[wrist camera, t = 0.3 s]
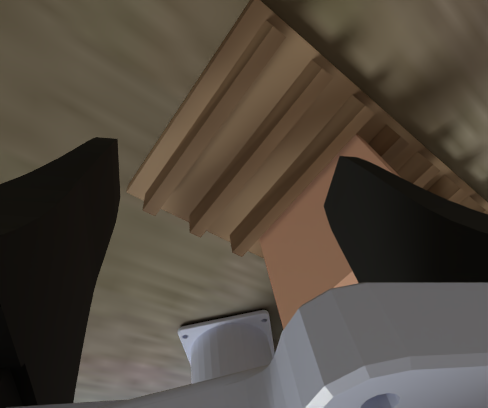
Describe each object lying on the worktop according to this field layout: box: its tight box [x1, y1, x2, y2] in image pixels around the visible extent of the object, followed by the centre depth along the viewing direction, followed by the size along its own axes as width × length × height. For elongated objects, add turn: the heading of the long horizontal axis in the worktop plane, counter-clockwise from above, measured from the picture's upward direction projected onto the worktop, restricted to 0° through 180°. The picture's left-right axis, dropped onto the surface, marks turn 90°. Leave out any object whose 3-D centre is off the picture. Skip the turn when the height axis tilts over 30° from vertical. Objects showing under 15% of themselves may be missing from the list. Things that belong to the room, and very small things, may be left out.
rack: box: [127, 0, 488, 258], centre depth 25 cm, size 26×13×3 cm, turn 53°
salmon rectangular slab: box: [259, 134, 400, 330], centre depth 20 cm, size 2×9×8 cm, turn 143°
